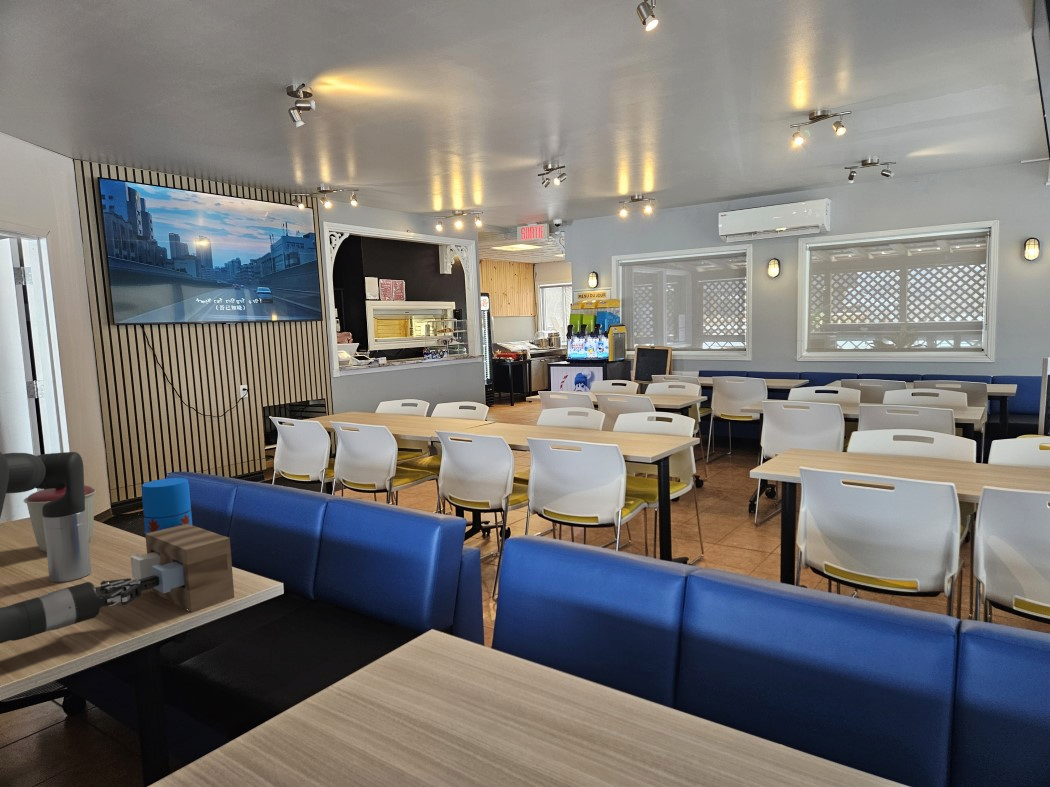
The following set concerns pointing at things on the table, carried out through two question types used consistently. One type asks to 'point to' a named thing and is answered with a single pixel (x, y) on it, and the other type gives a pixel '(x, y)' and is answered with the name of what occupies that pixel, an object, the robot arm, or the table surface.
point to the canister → (48, 495)
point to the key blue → (169, 576)
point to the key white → (144, 564)
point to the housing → (195, 564)
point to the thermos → (166, 504)
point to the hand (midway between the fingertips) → (157, 580)
